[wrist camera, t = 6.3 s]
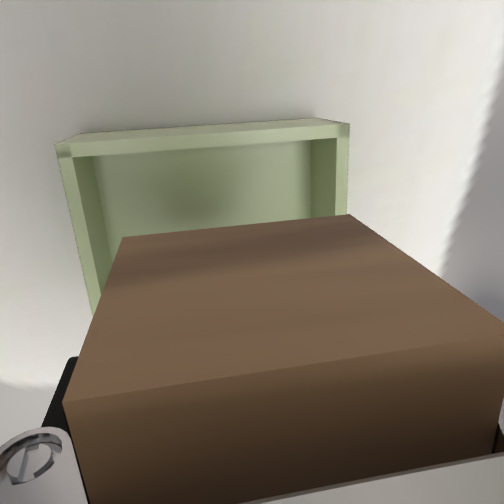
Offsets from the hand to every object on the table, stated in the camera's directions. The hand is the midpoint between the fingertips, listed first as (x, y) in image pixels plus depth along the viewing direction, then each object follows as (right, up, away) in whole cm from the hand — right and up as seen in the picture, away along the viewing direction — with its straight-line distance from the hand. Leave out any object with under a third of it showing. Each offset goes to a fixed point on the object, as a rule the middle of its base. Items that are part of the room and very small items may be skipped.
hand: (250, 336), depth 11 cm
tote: (-2, +5, +13) cm, 15 cm away
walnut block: (0, 0, +1) cm, 1 cm away
